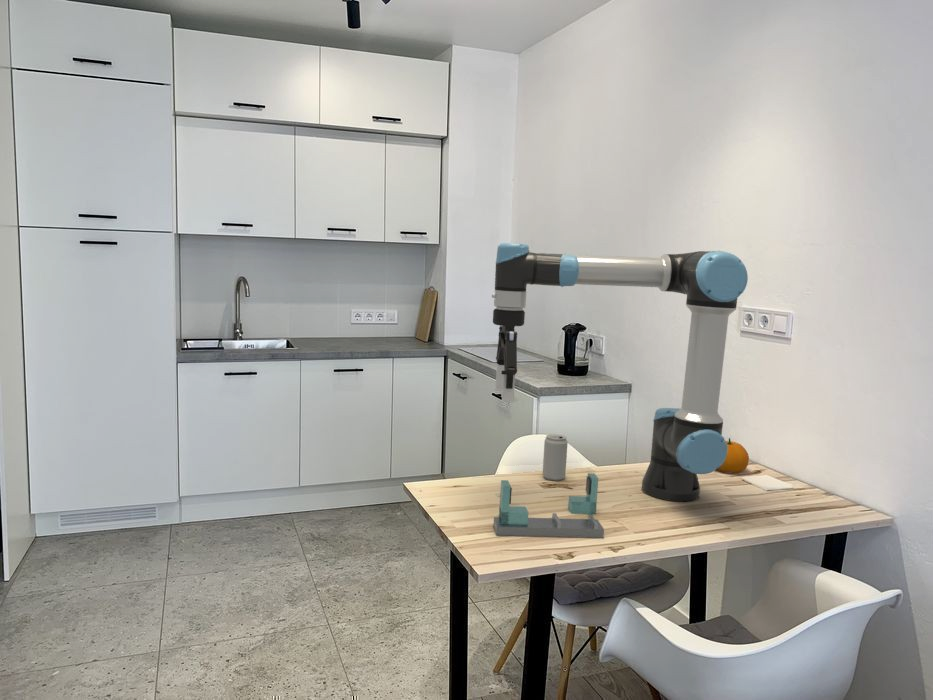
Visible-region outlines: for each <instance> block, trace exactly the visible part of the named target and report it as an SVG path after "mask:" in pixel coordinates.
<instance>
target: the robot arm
mask: <svg viewBox="0 0 933 700" xmlns="http://www.w3.org/2000/svg"><path fill="white" fill-rule="evenodd" d="M495 260H496V261H495V274H494V276H495V278H494V293H492V294H491V298H493V299H494V301H493V306H494V307H496V308H494V309H493V310H492V323H493V324H494V325H496V326H499V328H498V329H499V331H498V339H497V340H498V342H497V350H496V357H495V361H496V373H495V374H496V376H495V390H494V391H496V392H501V402H502V403H514V402H515V388H516V387H515V385H516V374H517V373H518V366H517V365H518V362H517V361H518V360H517V359H518V358H517V357H518V356H517V355H518V349H517V346H518V345H517V343H518V342H517V340H518V331H515V330H516V329H515V327H522V326H524V325H525V315H526V312H525V310H524V309H525V308H526V304H527V303H526V302H527V285H535V286H536V285H537V286H553V287H554V286H555V287H561V288H563V287H574V286H575V285H588V286H591V285H593V286H614V287H636V288H637V287H641V288H658V289H659V290H660V291H661V292H669V293H670V292H671V293H675V294H676V293H678V294H683V295H686V300H685V306H686V308H688V310H689V311H690V312H691V315H690V324H689V325H690V326H689V333H688V334H689V335H688V345H687V355H686V363H685V371H684V372H685V373H684V379H683V380H684V382H683V391H682V400H681V401H682V402H681V408H678V407H677V408H676V407H661V408H657V409H656V410H655V412H654V418H653V420H652V421H653V426H652V429H653V430H652V438H651V439H652V440H651V441H652V442H651V450H650V451H651V454H650V462H649V465H648V467H647V469H646V471H645V474H644V476H643V478H642V481H641V491H642V492H644V493H645V494H646V495H649V496H651V497H654V498H656V499H661V500H666V501H671V502H672V501H673V502H690V501H692V502H693V501H695V500H697V499H699V498H700V493H701V487H700V483H699V477H698V475H707V474H711V473H713V472H715V471H717V470H716V469H717V468H719V467H720V466H721V465H722V464H723V462H724V461H725V459H726V456H727V451H728V449H727V444H726V441H727V440H726V438H725V437H724V436H723V435H722V434H723V427H724V426H723V424H724V419H723V418H722V416H721V415H720V414H719V403H720V393H721V384H722V376H723V375H722V374H723V369H724V367H723V366H724V360H725V359H724V357H725V350H726V342H727V332H728V324H729V317H730V315H731V314H733V312H735V311H736V310H737V305H738V298H739V297H740V296H741V295H742V294H743V293H744V291H745V290H746V288H747V285H748V277H749V276H748V271H747V268H746V266H745V264H744V262H743V261H742V260H741V259H740V258H739V257H738V256H737V255H735V254H734V253H731V252H728V251H723V250H707V251H706V250H703V251H702V250H701V251H693V252H684V253H676V254H675V253H671V254H670V253H669V254H668V253H664V254H662V256H660V257H648V256H646V257H645V256H644V257H643V256H619V255H618V256H617V255H589V254H566V253H543V252H540V253H538V252H537V253H536V252H532V251H531V252H530V247H529V244H526V243H514V242H513V243H512V242H501V243H500V244H499V245H498V246H497V250H496V259H495Z"/></svg>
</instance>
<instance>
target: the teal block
mask: <svg viewBox="0 0 933 700" xmlns="http://www.w3.org/2000/svg"><path fill="white" fill-rule="evenodd" d="M585 481H586V483H585V492H586V493H585V494H586V495H585V496H579V495H577V496H573V495H569V496H568V499H567V500H568V502H567V503H568V504H567V509H568V511H569V512H570V513H571V514H574V515H579V514H580V515H581V514H582V515H588V514H592V515H596V514H597V503H598V502H597V499H598V490H599V489H598V488H599V476H597V475H596V473H594V472H593V473H591V472H588V473H587V476H586V480H585Z"/></svg>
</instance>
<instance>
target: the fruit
mask: <svg viewBox="0 0 933 700" xmlns="http://www.w3.org/2000/svg"><path fill="white" fill-rule="evenodd" d="M725 441H726V444H727V449H728V451H727V456H726V459H725V461H724V462H723V464H722V465H721V466H720V467H719V468H717V469H716V470H715V471H719V472H722V473H726V474H738V473H741V472H744V470H746V469H747V467H748V465H749V462H750V461H749V460H750V457H749V453H748V451H747V450H746V448H745V447H744V446H743V445H742V444H741V443H739V442H736V441H731V437H729V438H728V440H725Z"/></svg>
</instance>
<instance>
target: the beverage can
mask: <svg viewBox="0 0 933 700" xmlns="http://www.w3.org/2000/svg"><path fill="white" fill-rule="evenodd" d="M568 442H569V441H568V440H567V436H565V435H563V434H555V433H553V434H552V433H551V434H547V435H546V436H545V439H544V445H543V460H542V461H543V463H542V476H543V477H544V479H546V480H549V481H554V482H555V481H556V482H557V481H562V480H563V479H564V478H566V471H567V460H568V459H567V457H568V456H567V454H568V444H569V443H568Z"/></svg>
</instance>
